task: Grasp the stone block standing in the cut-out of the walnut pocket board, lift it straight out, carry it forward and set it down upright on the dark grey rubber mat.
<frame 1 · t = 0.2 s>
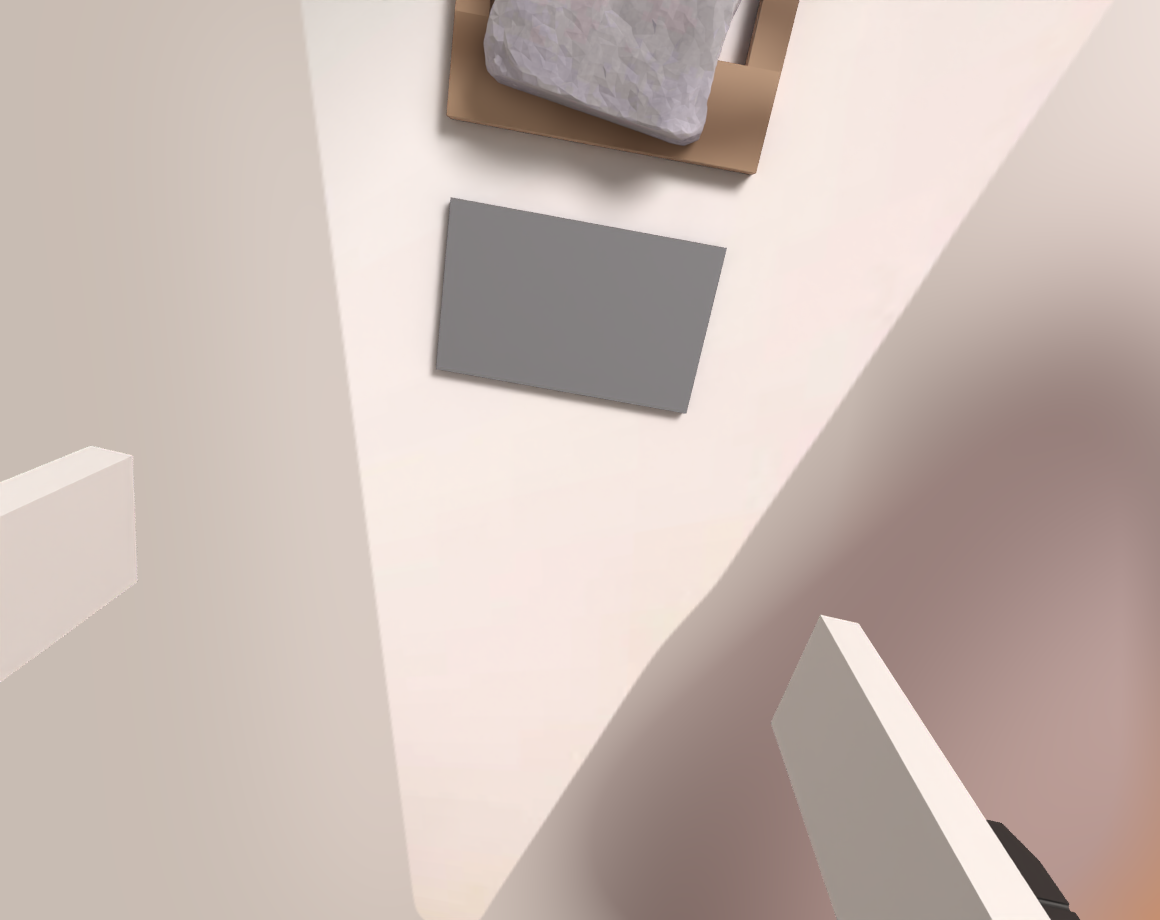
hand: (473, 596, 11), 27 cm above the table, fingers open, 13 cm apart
stone block: (617, 18, 31), resting in pocket board
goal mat: (575, 310, 36), on the table
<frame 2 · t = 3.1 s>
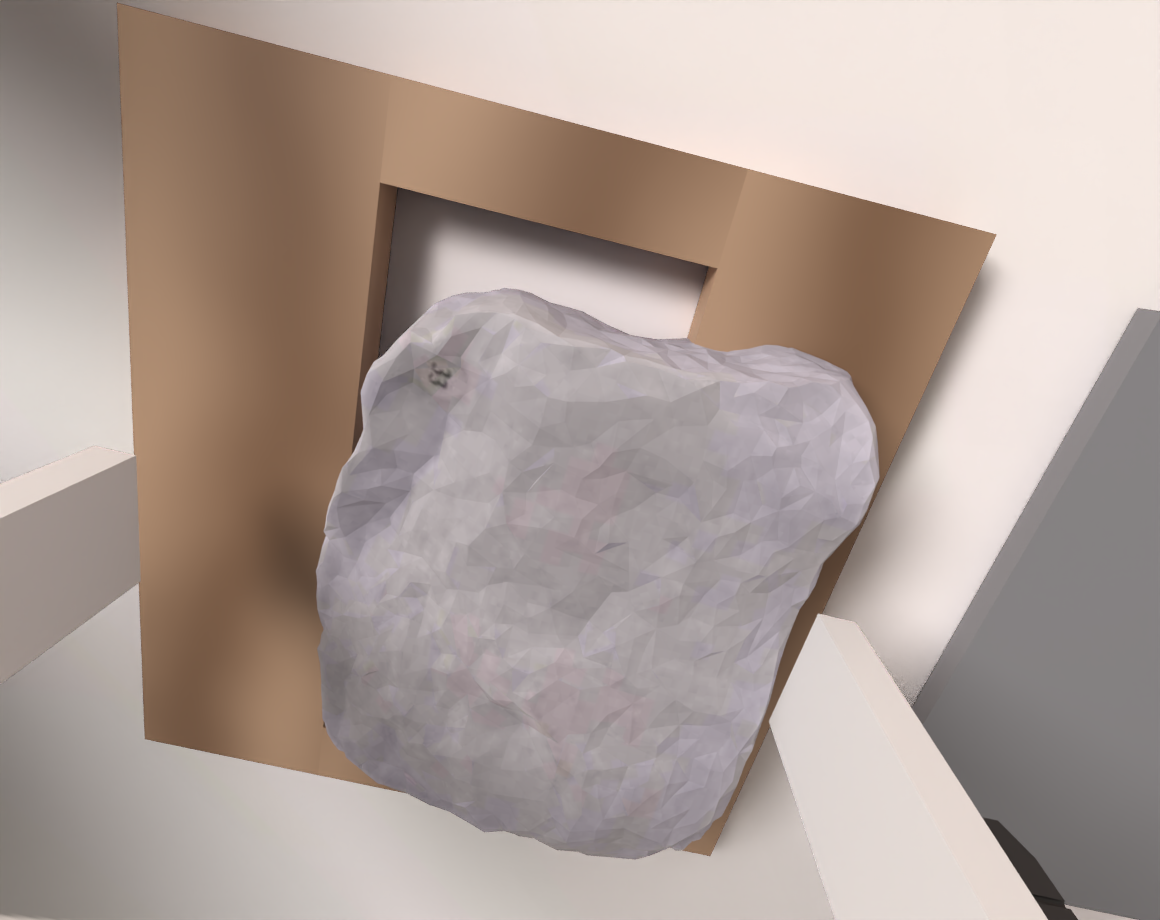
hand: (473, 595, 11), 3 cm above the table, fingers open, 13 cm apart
stone block: (555, 535, 15), resting in pocket board
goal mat: (1142, 665, 15), on the table
pocket board: (495, 516, 14), on the table
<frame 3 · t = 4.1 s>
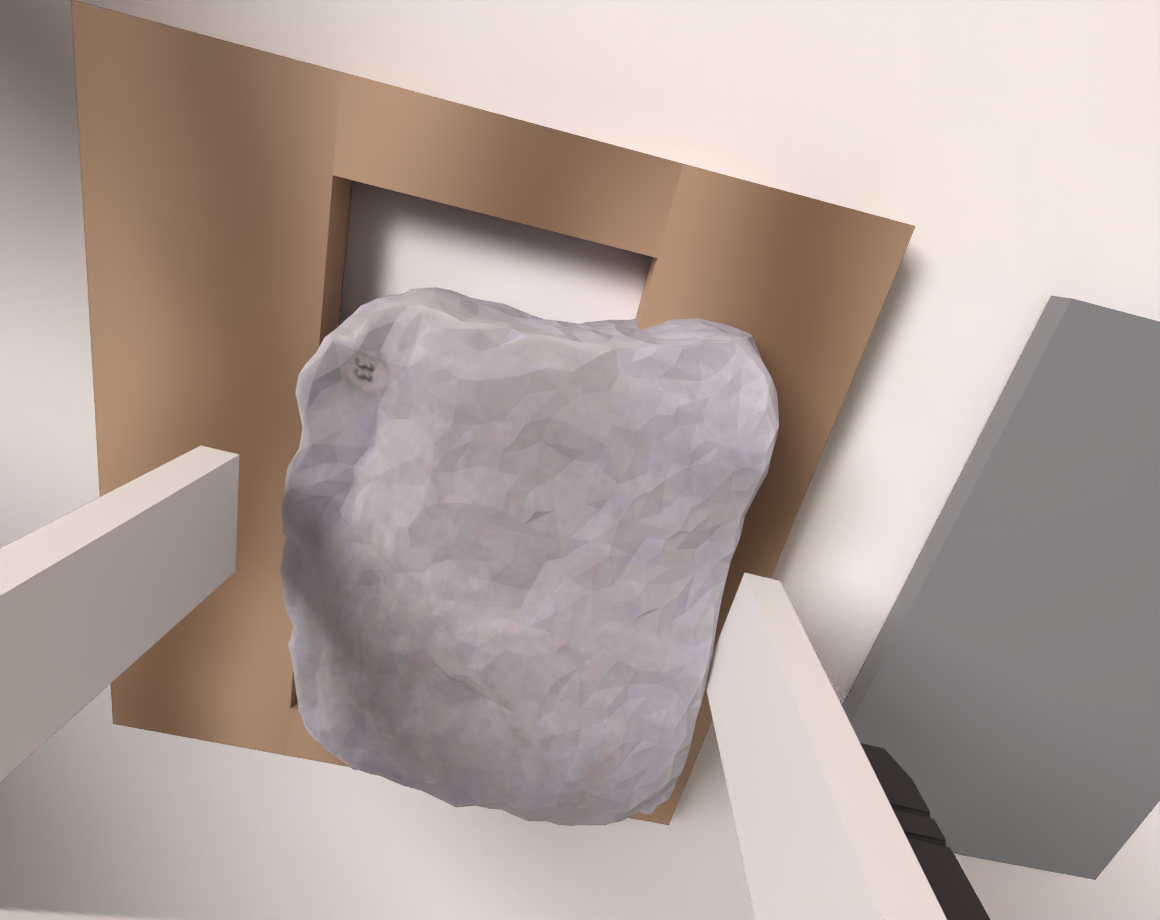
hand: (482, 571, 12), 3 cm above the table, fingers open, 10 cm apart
stone block: (510, 521, 15), resting in pocket board, touching gripper
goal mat: (1068, 633, 16), on the table
pocket board: (454, 499, 15), on the table
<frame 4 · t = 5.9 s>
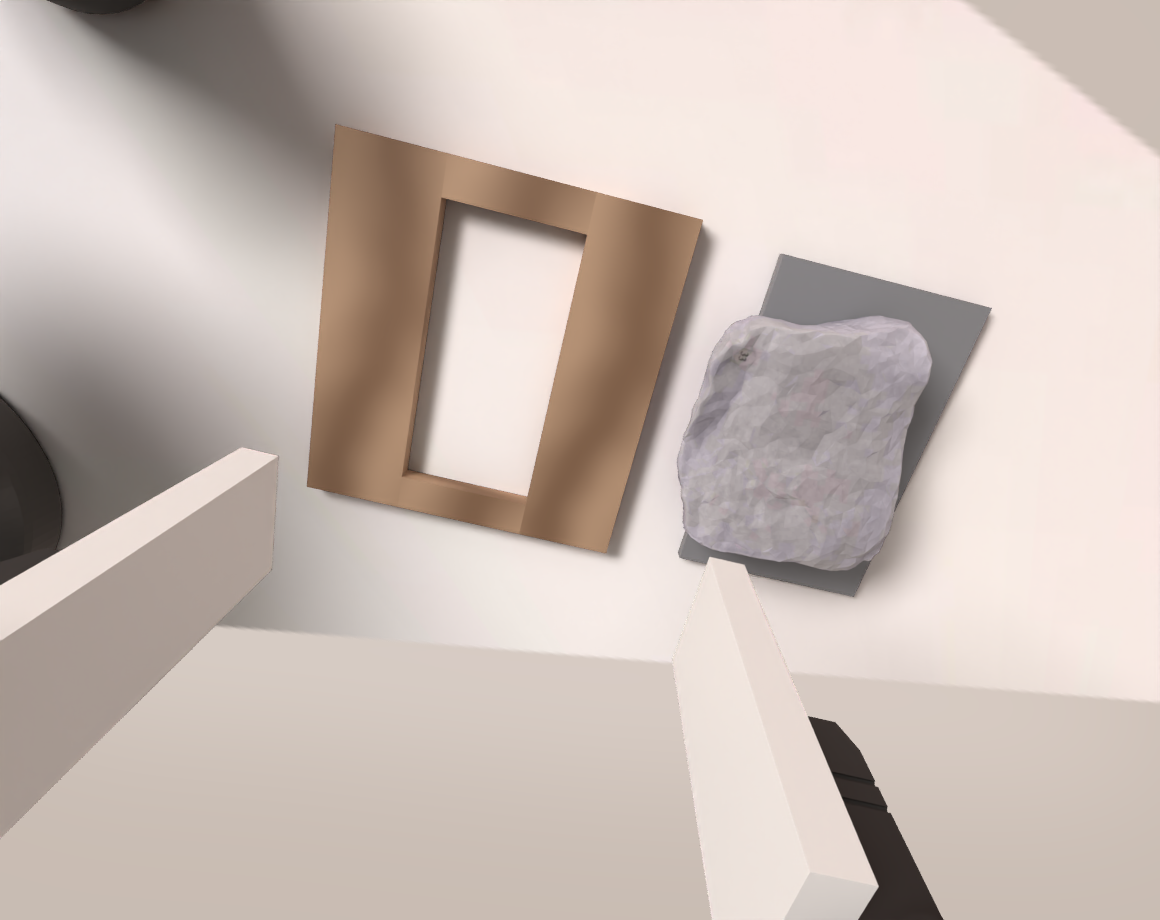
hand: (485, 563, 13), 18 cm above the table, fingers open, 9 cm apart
stone block: (773, 430, 30), resting on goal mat
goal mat: (818, 439, 30), on the table
pocket board: (490, 360, 29), on the table
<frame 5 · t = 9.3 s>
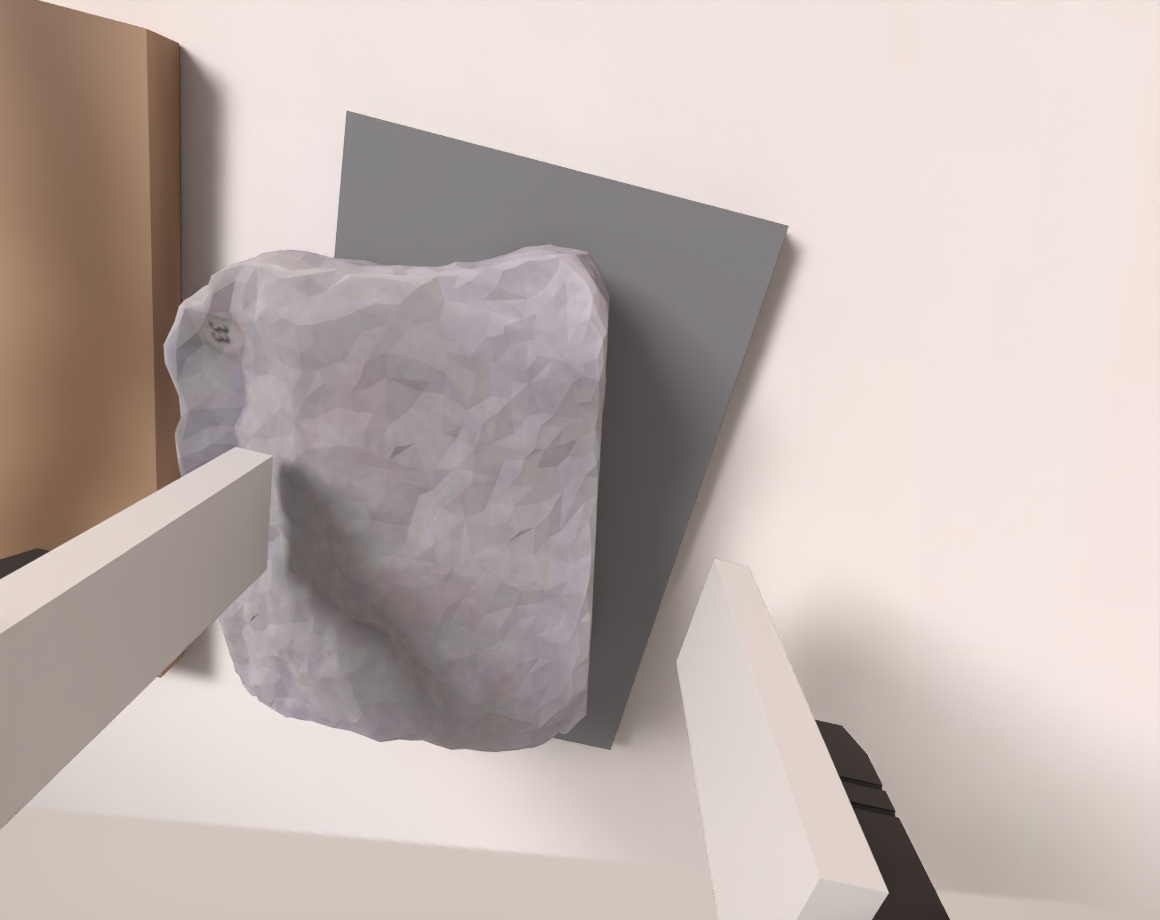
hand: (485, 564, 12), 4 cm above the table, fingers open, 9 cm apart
stone block: (419, 474, 16), resting on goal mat, touching gripper
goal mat: (507, 483, 16), on the table
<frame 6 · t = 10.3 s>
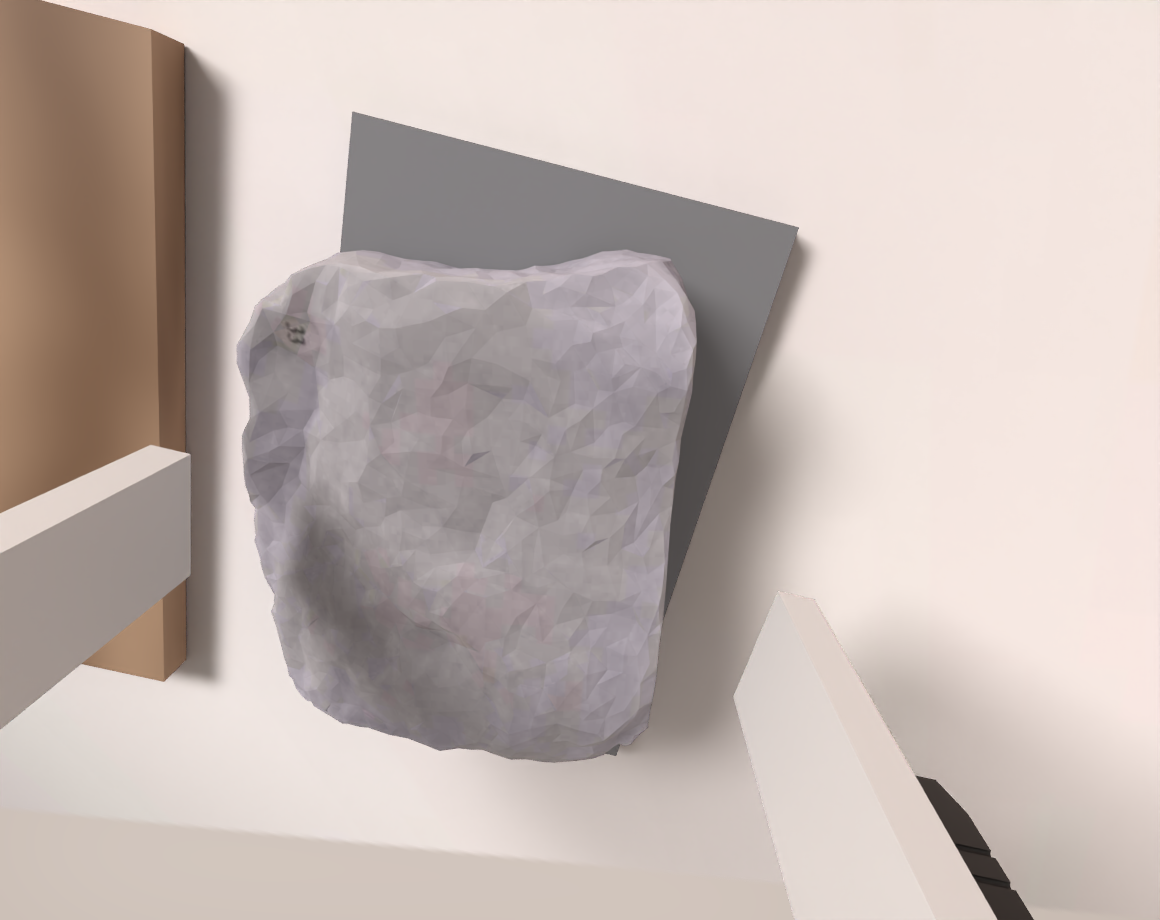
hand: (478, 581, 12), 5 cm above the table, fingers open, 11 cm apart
stone block: (475, 479, 16), resting on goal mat
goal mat: (513, 486, 16), on the table
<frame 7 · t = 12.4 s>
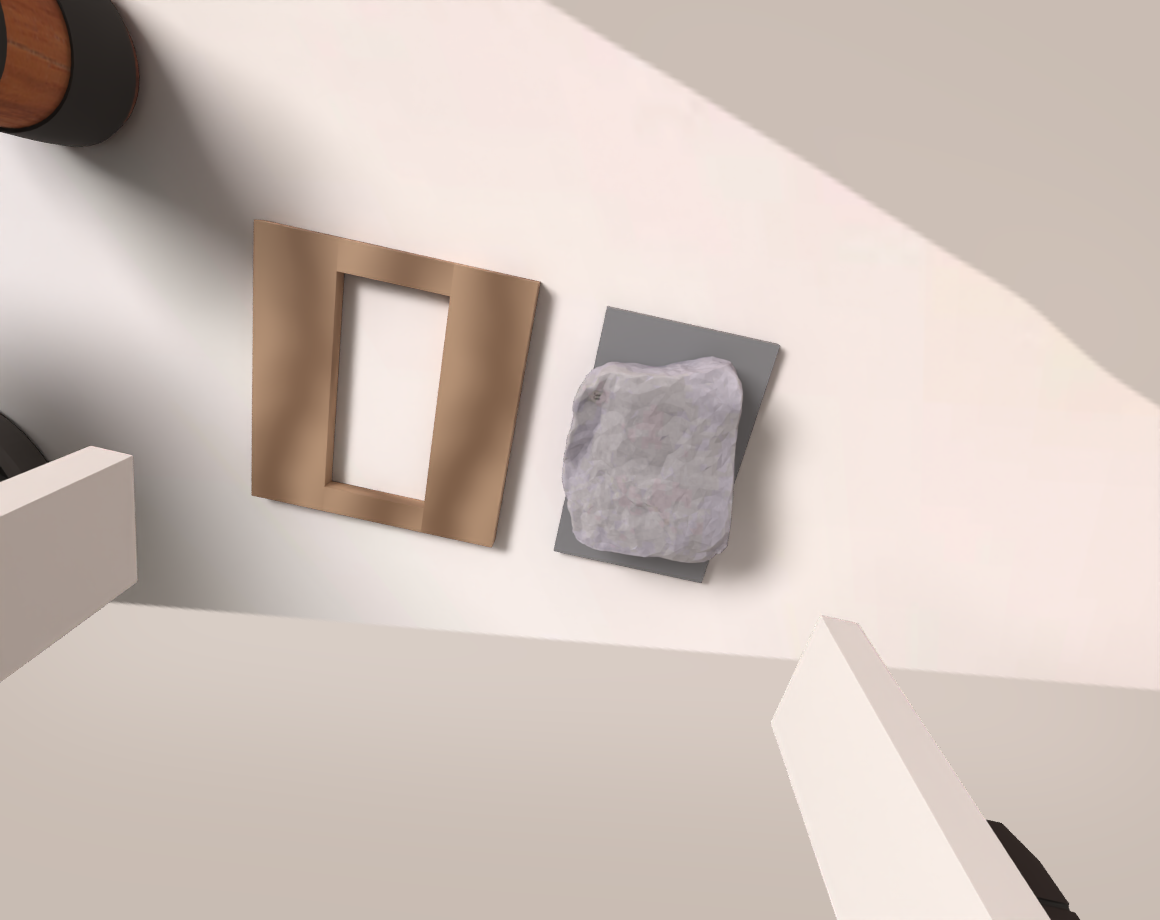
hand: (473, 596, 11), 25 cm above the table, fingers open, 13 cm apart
stone block: (644, 450, 36), resting on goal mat
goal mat: (657, 452, 37), on the table
mug: (40, 47, 31), on the table
pocket board: (389, 393, 37), on the table
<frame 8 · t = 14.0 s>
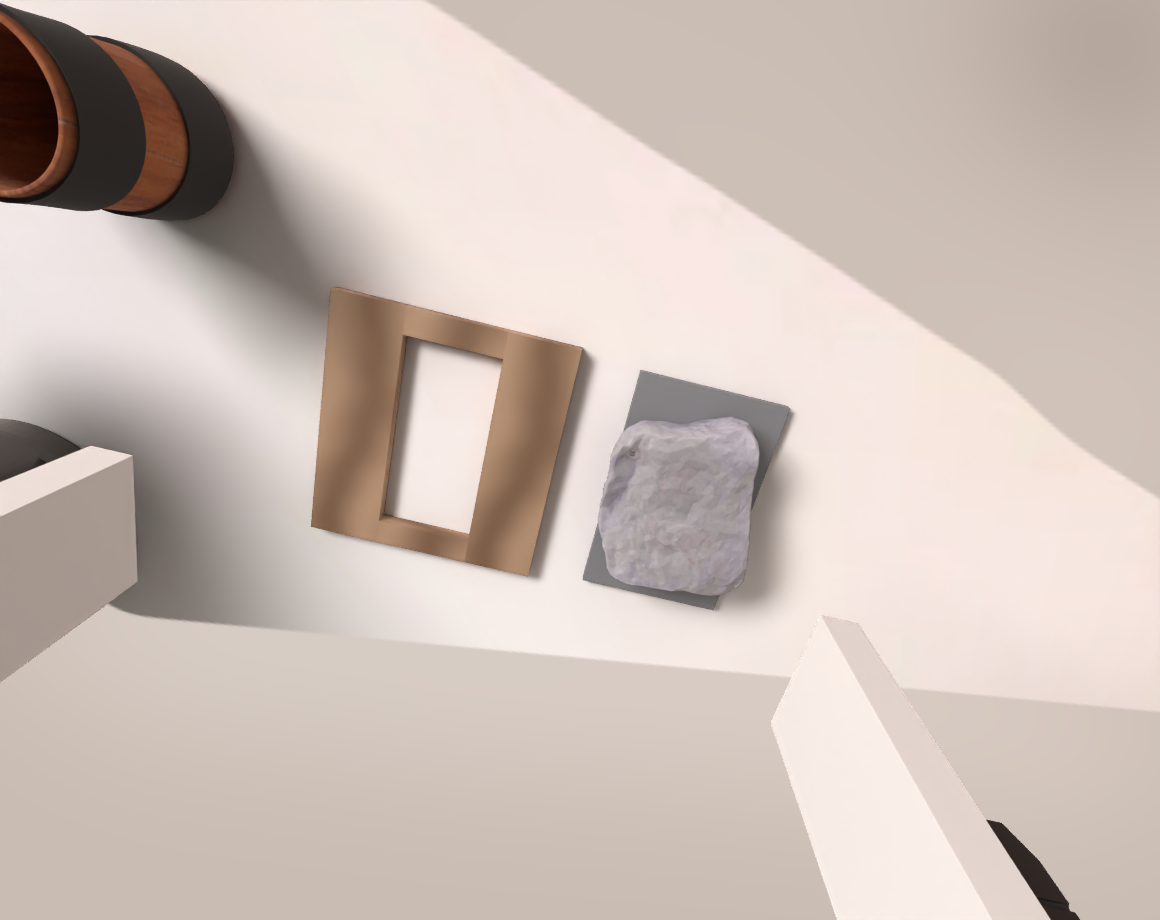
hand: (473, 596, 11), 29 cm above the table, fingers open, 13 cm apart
stone block: (669, 494, 41), resting on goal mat
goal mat: (678, 496, 42), on the table
mug: (144, 131, 35), on the table
pocket board: (441, 439, 41), on the table
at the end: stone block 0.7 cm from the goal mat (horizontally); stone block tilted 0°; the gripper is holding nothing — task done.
